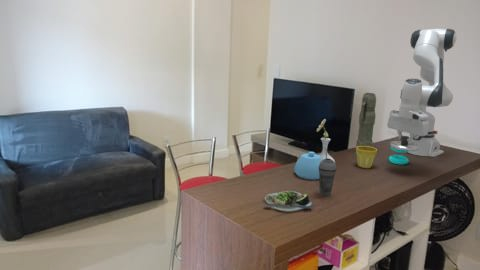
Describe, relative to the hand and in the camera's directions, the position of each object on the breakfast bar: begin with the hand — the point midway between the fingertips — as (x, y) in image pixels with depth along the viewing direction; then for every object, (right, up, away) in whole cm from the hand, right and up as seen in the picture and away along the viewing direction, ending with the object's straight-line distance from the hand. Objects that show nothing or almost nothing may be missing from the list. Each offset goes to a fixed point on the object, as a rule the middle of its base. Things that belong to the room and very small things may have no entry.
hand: (404, 140), depth 179 cm
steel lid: (0, -3, +1) cm, 3 cm away
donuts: (+5, -12, +19) cm, 23 cm away
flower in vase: (-37, -13, +13) cm, 42 cm away
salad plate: (-62, -25, -35) cm, 75 cm away
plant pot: (-16, -14, +12) cm, 24 cm away
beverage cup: (-45, -22, -26) cm, 57 cm away
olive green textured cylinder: (-8, -8, +37) cm, 39 cm away
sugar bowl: (-47, -17, -3) cm, 51 cm away
